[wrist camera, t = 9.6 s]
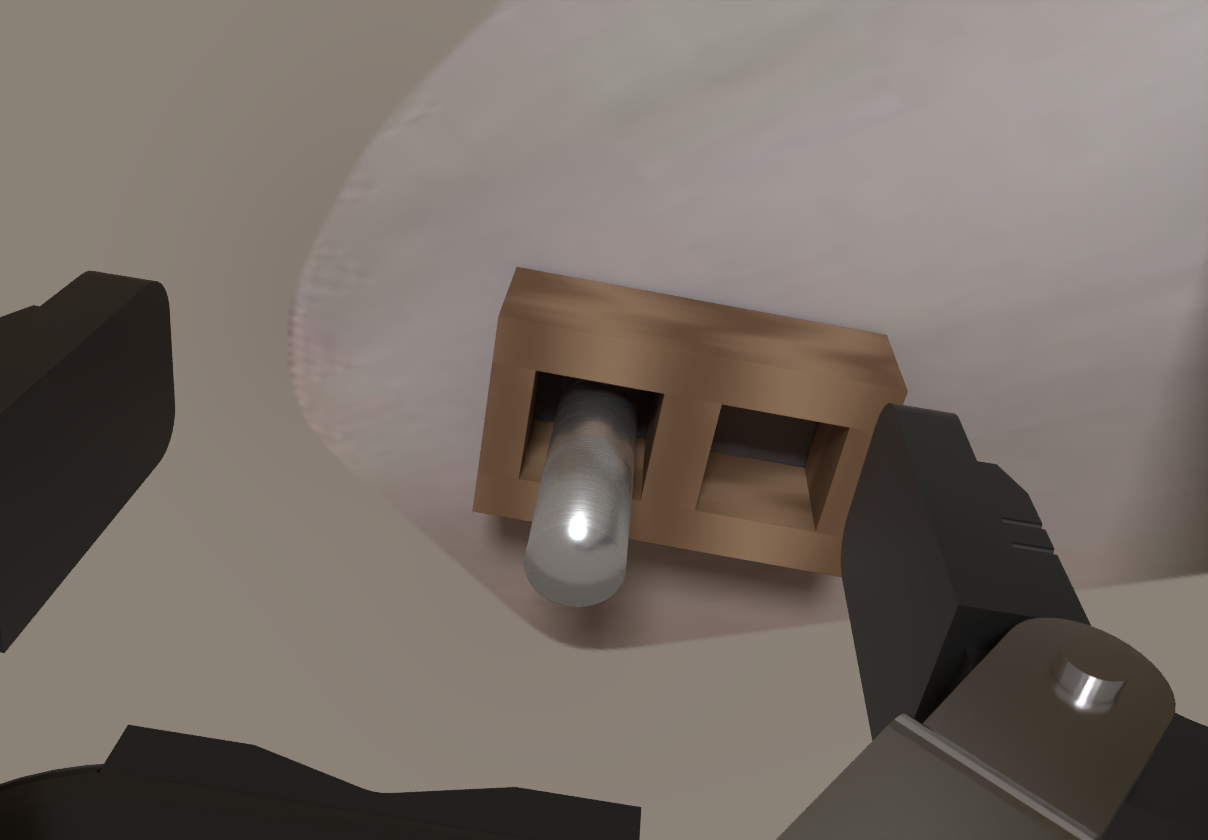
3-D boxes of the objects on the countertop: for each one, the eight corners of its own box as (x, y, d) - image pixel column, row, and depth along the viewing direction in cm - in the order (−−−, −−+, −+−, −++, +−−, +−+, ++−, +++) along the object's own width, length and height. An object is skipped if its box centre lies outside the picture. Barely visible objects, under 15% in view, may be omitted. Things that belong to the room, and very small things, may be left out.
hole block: (886, 335, 41) (907, 391, 37) (829, 509, 45) (842, 577, 41) (516, 266, 41) (498, 316, 37) (491, 449, 45) (472, 511, 41)
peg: (647, 352, 42) (634, 534, 32) (633, 419, 44) (616, 614, 33) (570, 338, 42) (531, 516, 32) (558, 406, 43) (517, 597, 33)
